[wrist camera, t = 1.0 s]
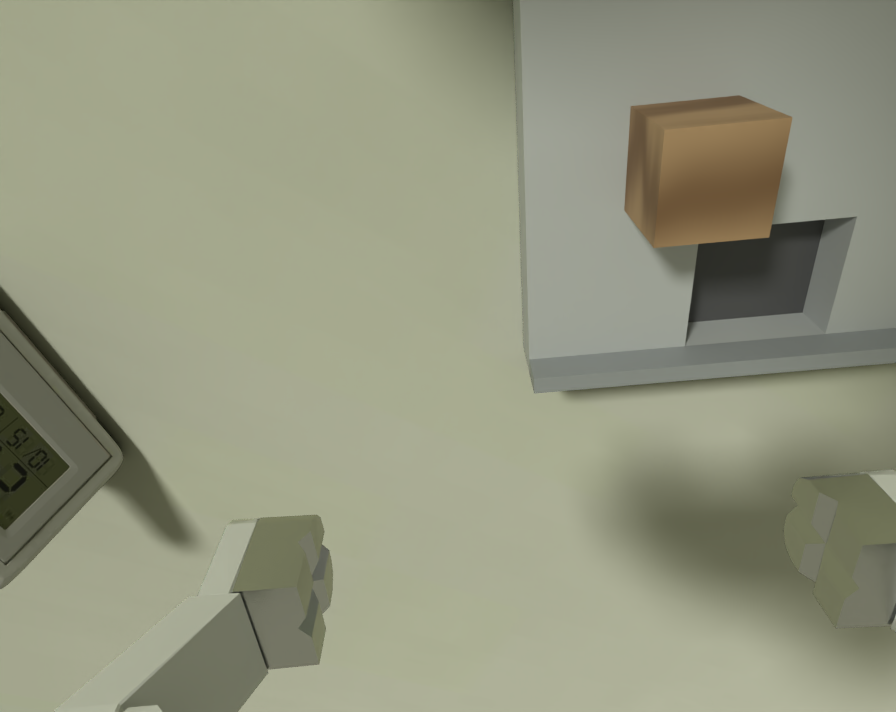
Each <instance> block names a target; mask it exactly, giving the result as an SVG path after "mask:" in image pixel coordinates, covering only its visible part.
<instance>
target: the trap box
mask: <svg viewBox="0 0 896 712" xmlns="http://www.w3.org/2000/svg"><path fill="white" fill-rule="evenodd" d="M513 25H514V57H515V90H516V122H517V154H518V186H519V219H520V251H521V283H522V316H523V347H524V352H525V356H526V360H527V365H528V369H529V373H530V377H531V382H532V386H533V390H534V393H544V392H556V391H568V390H580V389H592V388H604V387H615V386H627V385H639V384H651V383H663V382H675V381H686V380H698V379H710V378H722V377H734V376H746V375H757V374H769V373H781V372H793V371H805V370H817V369H829V368H840V367H852V366H864V365H876V364H888V363H896V0H513ZM737 95H740V96H742V97H745V98H747V99H750V100H752V101H755V102H757V103H759V104H762V105H764V106H767V107H769V108H771V109H774V110H776V111H779V112H781V113H784V114H786V115H788V116H791V117H793V118H792V123H791V128H790V133H789V139H788V144H787V149H786V154H785V159H784V164H783V169H782V174H781V179H780V185H779V190H778V195H777V200H776V205H775V210H774V215H773V220H772V225H771V231H770V236H769V237H768V238H757V239H747V240H736V241H725V242H714V243H703V244H692V245H681V246H670V247H659V248H653V246H652V245H651V244H650V243H649V241H648V240H647V239H646V238H645V236H644V235H643V234H642V232H641V231H640V230H639V229H638V227H637V226H636V225H635V223H634V222H633V221H632V220H631V218H630V217H629V216H628V215H627V213H626V212H625V211H624V205H625V189H626V173H627V157H628V141H629V125H630V109H631V106H637V105H647V104H657V103H667V102H677V101H687V100H697V99H707V98H717V97H727V96H737Z"/></svg>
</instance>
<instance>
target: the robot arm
mask: <svg viewBox="0 0 896 712" xmlns="http://www.w3.org/2000/svg"><path fill="white" fill-rule="evenodd" d="M791 497H792V498H793V500H794V501H795V502H796V504H797V506H796V507H795V508H794V509H793V510H792V511H791V512H790V513H789V514H788V515H787V516H786V519H785V525H784V530H783V532H784V539H785V546H786V549H787V552H788V554H789V557H790V559H791V561H792V562H793V564H794V566H795V567H796V569H797V570H798V572H800V573H801V574H803V575H804V576H806V577H808V578H809V579H811V580H813V581H814V582H815V585H814V590H813V595H814V596H815V598H816V599H817V601H818V602H819V604H820V605H821V607H822V608H823V610H824V611H825V613H826V615H827V616H828V618H829V619H830V621H831V622H832V624H833V625H834V627H835V628H852V627H876V626H891V628H890V629H892V630H893V631H894V632H896V471H894V470H892V469H889V470H879V471H868V472H860V473H849V474H837V475H826V476H814V477H802V478H799V479H798V480H797V481H796V482H795V484H794V486H793V490H792V494H791ZM323 536H324V528H323V524H322V521H321V517H319V516H318V515H303V516H284V517H265V518H261V519H238V520H232V521H231V522H230V523H229V524H228V525H227V526H226V528H225V530H224V533H223V535H222V537H221V540H220V542H219V544H218V547H217V549H216V552H215V554H214V556H213V559H212V561H211V564H210V566H209V568H208V571H207V573H206V576H205V578H204V580H203V583H202V585H201V588H200V590H199V592H198V595H197V596H190V597H187V598H186V599H185V600H184V601H183V602H181V603H180V604H179V605H178V606H177V607H175V608H174V609H173V610H172V611H171V612H170V613H168V614H167V615H166V616H165V617H164V618H163V619H161V620H160V621H159V622H158V623H157V624H155V625H154V626H153V627H152V628H151V629H150V630H148V631H147V632H146V633H145V634H144V635H142V636H141V637H140V638H139V639H138V640H137V641H135V642H134V643H133V644H132V645H131V646H129V647H128V648H127V649H126V650H125V651H124V652H122V653H121V654H120V655H119V656H118V657H117V658H115V659H114V660H113V661H112V662H111V663H109V664H108V665H107V666H106V667H105V668H104V669H102V670H101V671H100V672H99V673H98V674H96V675H95V676H94V677H93V678H92V679H91V680H89V681H88V682H87V683H86V684H85V685H83V686H82V687H81V688H80V689H79V690H78V691H76V692H75V693H74V694H73V695H72V696H71V697H69V698H68V699H67V700H66V701H65V702H63V703H62V704H61V705H60V706H59V707H58V708H56V709H55V711H54V712H238V711H239V710H240V708H241V707H242V706H243V705H244V703H245V702H246V701H247V699H248V698H249V697H250V695H251V694H252V693H253V692H254V690H255V689H256V688H257V686H258V685H259V684H260V683H261V681H262V680H263V679H264V677H265V676H266V675H267V674H268V669H278V668H288V667H298V666H308V665H318V664H319V663H320V658H321V653H322V647H323V642H324V637H325V631H326V627H325V623H324V619H323V615H322V614H323V613H324V612H325V611H326V610H327V609H328V607H329V606H330V603H331V597H332V590H333V569H332V560H331V556H330V552H329V550H328V549H327V548H326V547H324V546H323V545H322V541H323Z"/></svg>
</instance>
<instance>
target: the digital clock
mask: <svg viewBox="0 0 896 712" xmlns="http://www.w3.org/2000/svg"><path fill="white" fill-rule="evenodd" d="M96 419H97V417H96V416H95V415H94V414H93V412H92V411H91V410H90V409H89V408H88V407H87V405H86V404H85V403H84V402H83V401H82V400H81V399H80V397H79V396H78V395H77V394H76V393H75V392H74V390H73V389H72V388H71V387H70V386H69V385H68V383H67V382H66V381H65V380H64V379H63V378H62V377H61V375H60V374H59V373H58V372H57V371H56V370H55V368H54V367H53V366H52V365H51V364H50V363H49V362H48V360H47V359H46V358H45V357H44V356H43V355H42V353H41V352H40V351H39V350H38V349H37V348H36V346H35V345H34V344H33V343H32V342H31V341H30V340H29V338H28V337H27V336H26V335H25V334H24V333H23V331H22V330H21V329H20V328H19V327H18V326H17V324H16V323H15V322H14V321H13V320H12V319H11V318H10V316H9V315H8V314H7V313H6V312H5V311H1V310H0V589H2V588H4V587H5V586H6V585H8V584H9V583H10V582H11V581H12V580H13V579H14V578H15V577H16V576H17V575H18V574H19V573H20V572H21V571H22V570H24V569H25V568H26V566H27V565H28V564H29V563H30V562H31V561H32V560H33V559H34V558H35V557H36V556H37V555H38V554H39V553H40V552H41V551H42V550H43V548H44V547H45V546H46V545H47V544H48V543H49V542H50V541H51V540H52V539H53V538H54V537H55V536H56V535H57V534H58V533H59V532H60V531H61V529H62V528H63V527H64V526H65V525H66V524H67V523H68V522H69V521H70V520H71V519H72V518H73V517H74V516H75V515H76V514H77V513H78V511H79V510H80V509H81V508H82V507H83V506H84V505H85V504H86V503H87V502H88V501H89V500H90V499H91V498H92V497H93V496H94V495H95V493H96V492H97V491H98V490H99V489H100V488H101V487H102V486H103V485H104V484H105V483H106V482H107V481H108V480H109V479H110V478H111V477H112V476H113V474H114V473H115V472H116V471H117V470H118V469H119V467H120V466H121V464H122V462H123V453H122V451H121V449H120V448H119V446H118V445H117V444H116V442H115V441H114V440H113V439H112V438H111V437H110V435H109V434H108V433H107V432H106V431H105V430H104V428H103V427H102V426H101V425H100V424H99V423H98V421H97V420H96Z"/></svg>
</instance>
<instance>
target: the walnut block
mask: <svg viewBox="0 0 896 712" xmlns="http://www.w3.org/2000/svg"><path fill="white" fill-rule="evenodd" d="M792 118H793V117H791V116H788V115H786V114H784V113H781V112H779V111H776V110H774V109H771V108H769V107H767V106H764V105H762V104H759V103H757V102H755V101H752V100H750V99H747V98H745V97H742V96H740V95H737V96H727V97H717V98H707V99H697V100H687V101H677V102H667V103H657V104H647V105H637V106H631V109H630V125H629V141H628V157H627V173H626V189H625V205H624V211H625V212H626V213H627V215H628V216H629V217H630V218H631V220H632V221H633V222H634V223H635V225H636V226H637V227H638V229H639V230H640V231H641V232H642V234H643V235H644V236H645V238H646V239H647V240H648V241H649V243H650V244H651V245H652V246H653V248H659V247H670V246H681V245H692V244H703V243H714V242H725V241H736V240H747V239H757V238H768V237H769V236H770V231H771V225H772V220H773V215H774V210H775V205H776V200H777V195H778V190H779V185H780V179H781V174H782V169H783V164H784V159H785V154H786V149H787V144H788V139H789V133H790V128H791V123H792Z"/></svg>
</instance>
